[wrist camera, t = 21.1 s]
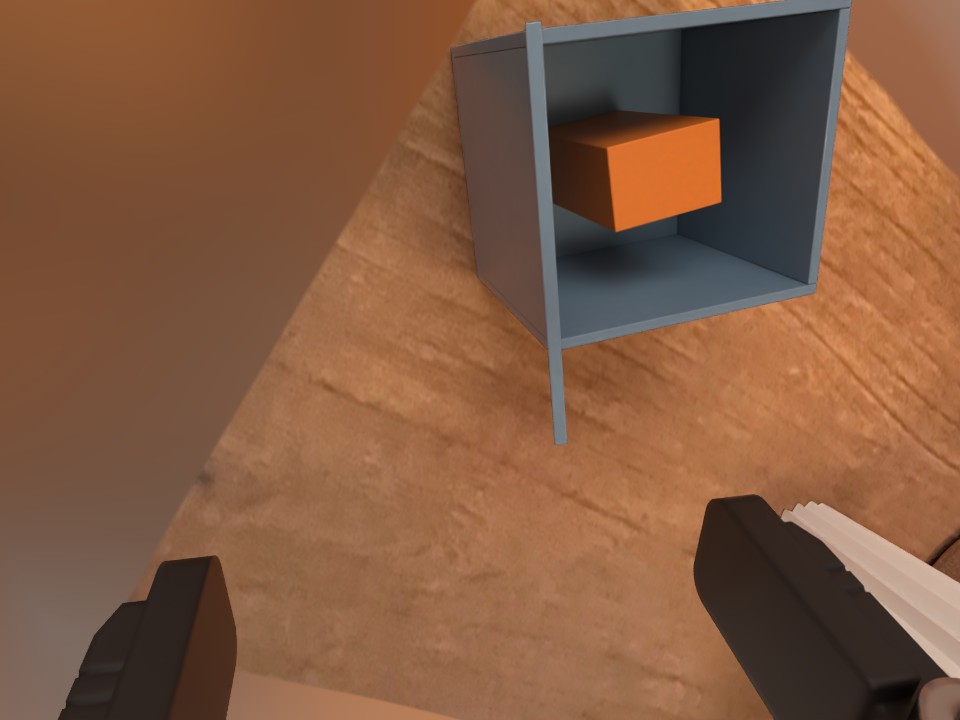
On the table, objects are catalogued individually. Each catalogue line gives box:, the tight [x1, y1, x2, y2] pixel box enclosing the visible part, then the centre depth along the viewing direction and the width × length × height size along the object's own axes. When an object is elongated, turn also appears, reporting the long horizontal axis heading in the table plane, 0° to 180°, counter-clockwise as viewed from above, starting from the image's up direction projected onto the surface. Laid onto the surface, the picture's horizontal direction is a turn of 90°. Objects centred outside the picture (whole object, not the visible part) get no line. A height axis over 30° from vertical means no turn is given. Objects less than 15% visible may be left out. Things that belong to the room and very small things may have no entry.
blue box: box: [451, 0, 852, 350], centre depth 30 cm, size 13×12×12 cm
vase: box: [781, 501, 960, 678], centre depth 42 cm, size 13×13×26 cm
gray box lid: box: [525, 21, 567, 445], centre depth 20 cm, size 6×12×1 cm
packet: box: [548, 110, 722, 232], centre depth 31 cm, size 5×4×9 cm
